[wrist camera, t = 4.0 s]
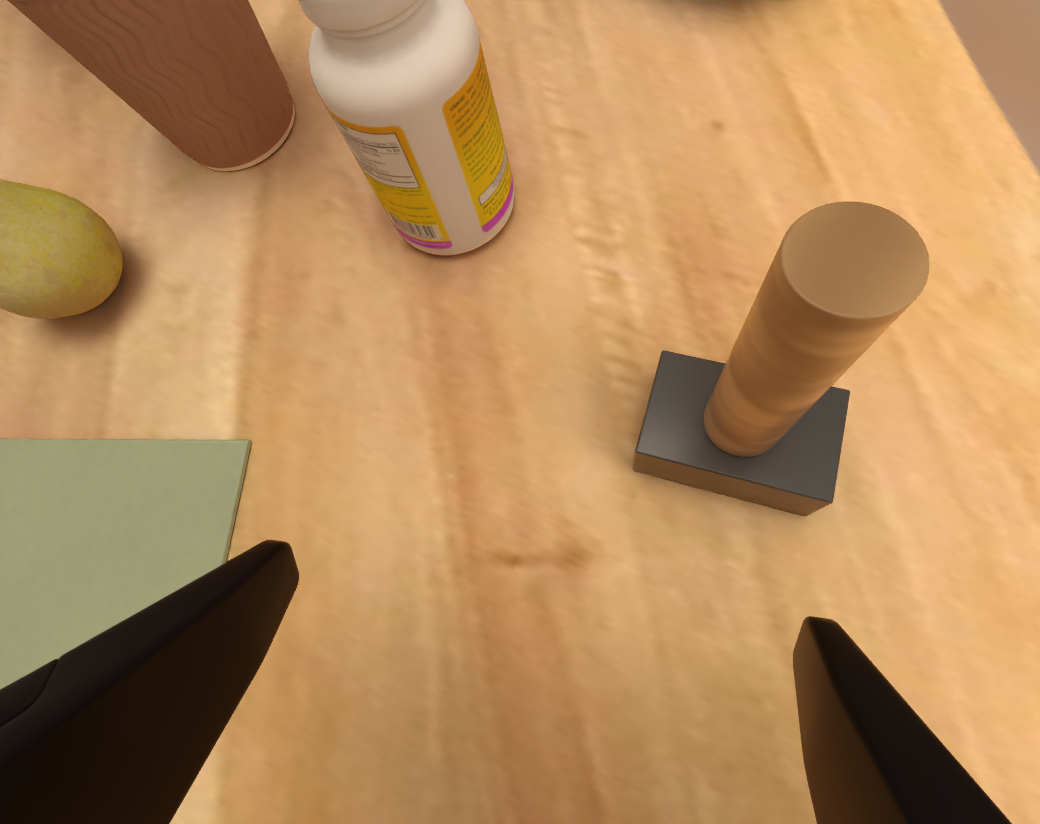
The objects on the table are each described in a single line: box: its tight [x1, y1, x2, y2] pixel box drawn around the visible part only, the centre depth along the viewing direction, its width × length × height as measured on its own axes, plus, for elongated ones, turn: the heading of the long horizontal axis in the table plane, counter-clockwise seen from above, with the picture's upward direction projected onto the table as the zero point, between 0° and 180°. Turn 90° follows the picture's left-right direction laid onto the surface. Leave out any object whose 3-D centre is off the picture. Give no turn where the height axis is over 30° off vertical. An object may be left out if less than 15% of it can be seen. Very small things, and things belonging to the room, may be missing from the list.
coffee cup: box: [8, 0, 295, 171], centre depth 29 cm, size 10×10×12 cm
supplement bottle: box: [299, 0, 515, 255], centre depth 24 cm, size 7×7×13 cm
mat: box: [0, 439, 251, 689], centre depth 27 cm, size 20×14×1 cm
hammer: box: [633, 202, 929, 516], centre depth 18 cm, size 7×4×14 cm, turn 72°
